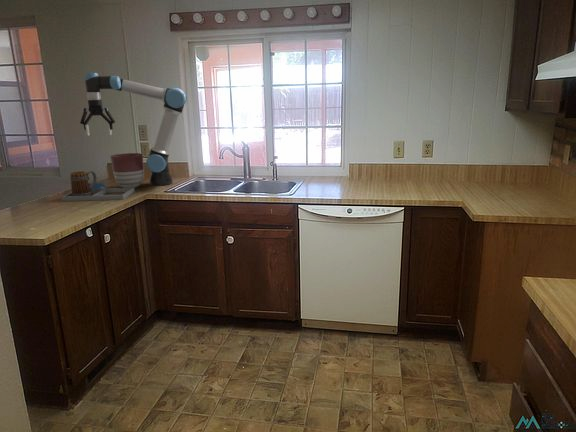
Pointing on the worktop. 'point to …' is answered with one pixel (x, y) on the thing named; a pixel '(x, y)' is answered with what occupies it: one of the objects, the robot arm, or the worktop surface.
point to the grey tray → (100, 193)
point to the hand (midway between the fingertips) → (99, 135)
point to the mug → (82, 183)
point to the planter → (128, 169)
